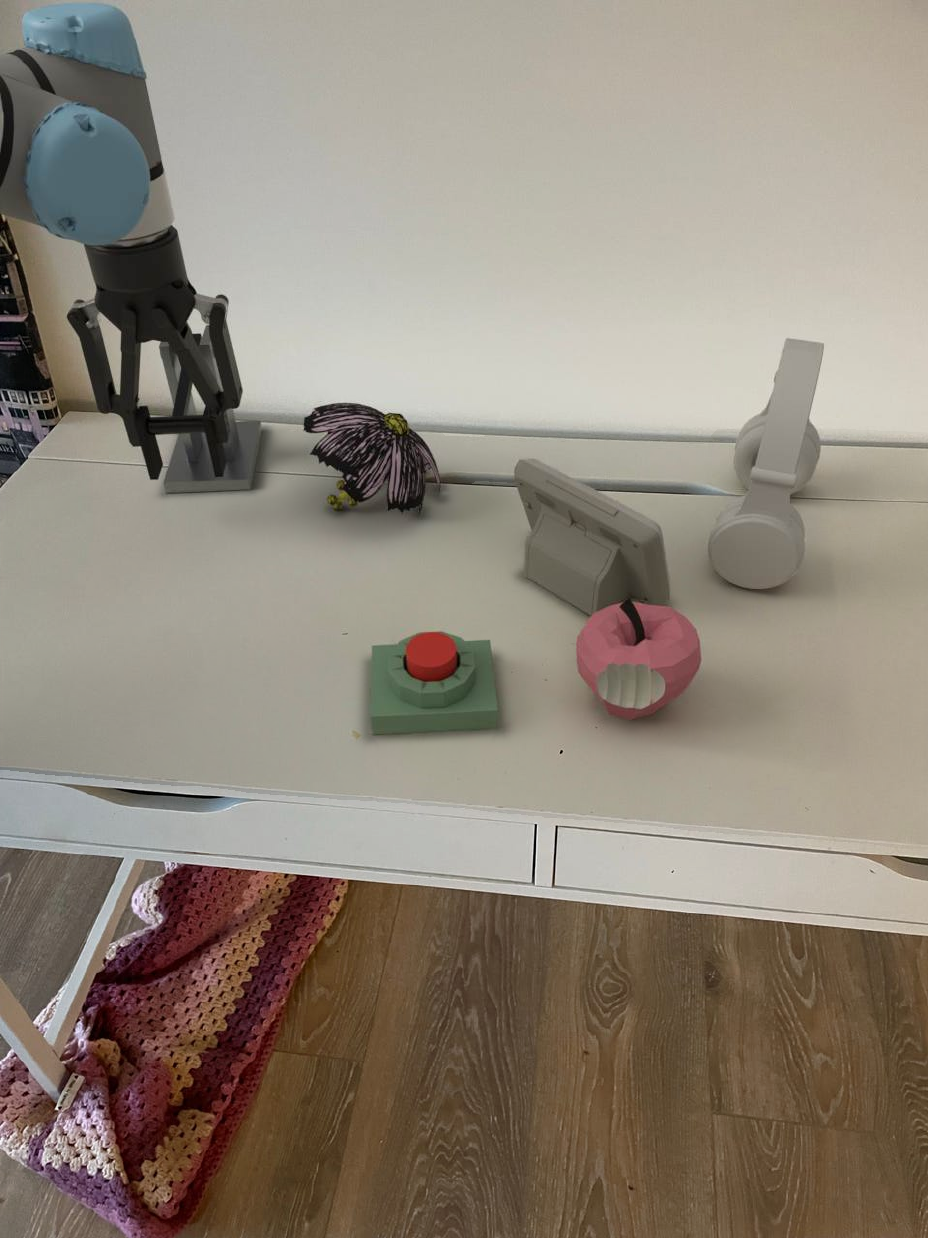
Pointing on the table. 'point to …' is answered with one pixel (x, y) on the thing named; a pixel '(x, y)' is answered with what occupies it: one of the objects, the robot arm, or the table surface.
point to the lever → (178, 409)
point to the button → (431, 656)
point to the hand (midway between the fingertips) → (188, 470)
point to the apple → (637, 657)
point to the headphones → (771, 479)
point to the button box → (433, 691)
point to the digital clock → (588, 542)
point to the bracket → (191, 450)
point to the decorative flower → (372, 454)
